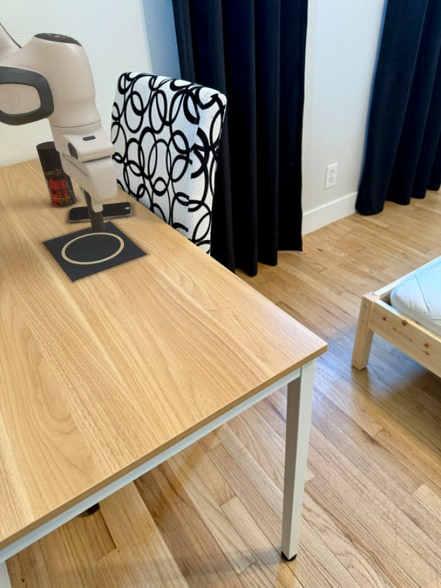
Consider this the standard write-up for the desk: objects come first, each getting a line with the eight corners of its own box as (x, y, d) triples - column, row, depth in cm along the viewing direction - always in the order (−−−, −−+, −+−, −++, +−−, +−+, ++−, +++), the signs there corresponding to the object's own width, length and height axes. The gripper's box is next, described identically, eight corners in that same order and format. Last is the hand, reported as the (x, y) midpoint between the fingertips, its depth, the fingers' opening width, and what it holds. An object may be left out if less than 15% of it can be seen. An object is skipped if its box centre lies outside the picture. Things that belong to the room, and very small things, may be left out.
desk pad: (72, 282, 82) (72, 280, 82) (42, 243, 95) (42, 241, 94) (147, 255, 89) (147, 253, 89) (110, 222, 102) (109, 220, 102)
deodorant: (47, 204, 111) (30, 146, 102) (66, 196, 115) (51, 139, 106) (62, 210, 108) (46, 150, 99) (81, 201, 112) (67, 143, 103)
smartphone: (131, 214, 103) (67, 221, 101) (132, 217, 104) (68, 224, 101) (130, 201, 109) (70, 207, 107) (131, 203, 110) (70, 210, 107)
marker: (95, 233, 88) (81, 171, 80) (90, 228, 90) (76, 167, 82) (107, 229, 89) (95, 168, 81) (102, 224, 91) (90, 164, 83)
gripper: (44, 127, 84) (61, 194, 92) (81, 155, 70) (98, 230, 78) (75, 121, 86) (89, 187, 95) (117, 147, 73) (129, 220, 81)
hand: (93, 207), depth 86 cm, fingers closed on marker, 2 cm apart
